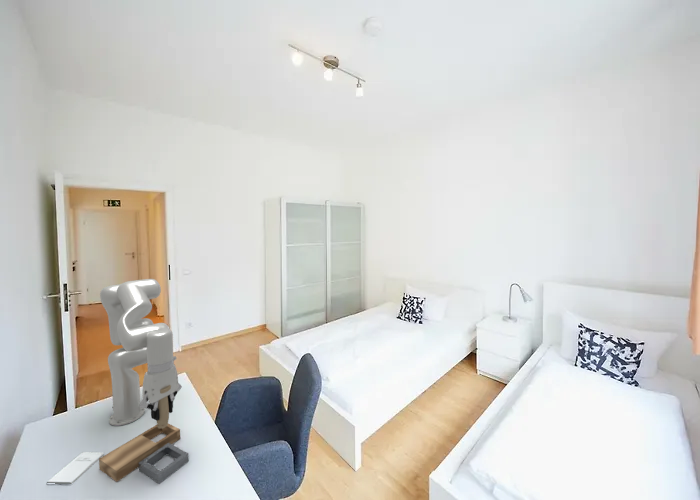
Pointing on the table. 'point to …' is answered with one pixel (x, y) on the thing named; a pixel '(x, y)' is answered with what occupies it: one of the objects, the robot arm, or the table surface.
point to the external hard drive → (76, 468)
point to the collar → (160, 476)
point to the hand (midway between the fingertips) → (162, 414)
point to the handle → (163, 409)
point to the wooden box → (136, 451)
